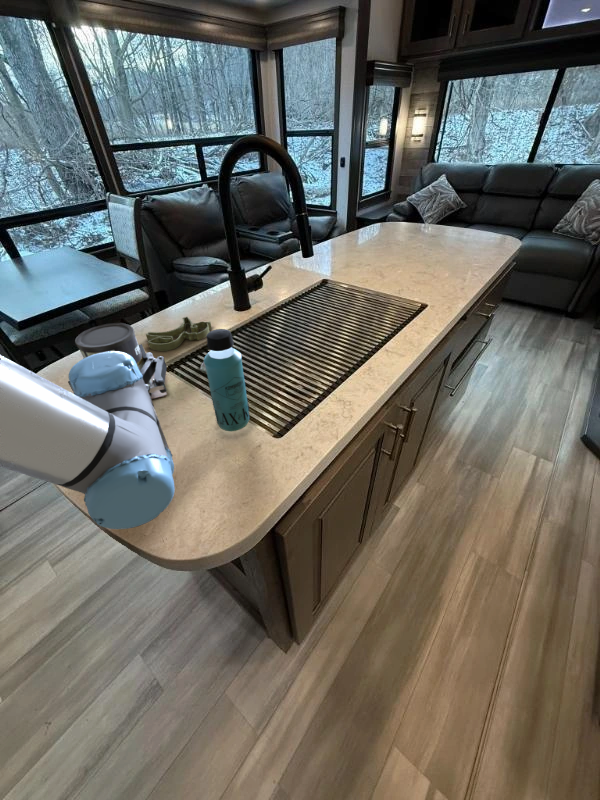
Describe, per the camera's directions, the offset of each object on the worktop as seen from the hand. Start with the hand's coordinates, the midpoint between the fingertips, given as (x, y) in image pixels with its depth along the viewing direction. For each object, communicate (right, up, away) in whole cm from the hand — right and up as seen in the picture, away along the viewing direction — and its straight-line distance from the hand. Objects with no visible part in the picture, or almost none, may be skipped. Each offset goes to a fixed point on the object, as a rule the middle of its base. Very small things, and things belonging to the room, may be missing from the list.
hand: (115, 356), depth 71 cm
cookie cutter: (+5, +9, +23) cm, 26 cm away
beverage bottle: (+27, -15, -6) cm, 31 cm away
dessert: (+19, -1, +11) cm, 22 cm away
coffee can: (+2, -8, +2) cm, 8 cm away
